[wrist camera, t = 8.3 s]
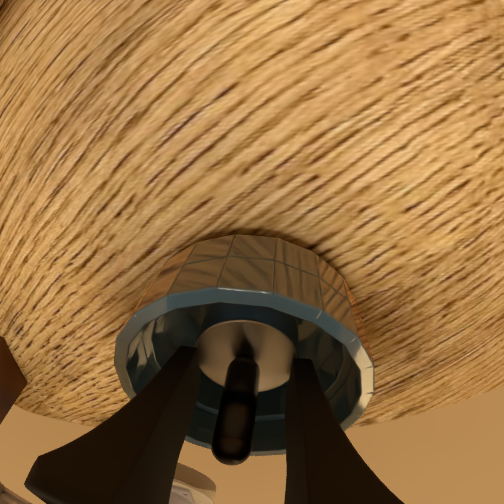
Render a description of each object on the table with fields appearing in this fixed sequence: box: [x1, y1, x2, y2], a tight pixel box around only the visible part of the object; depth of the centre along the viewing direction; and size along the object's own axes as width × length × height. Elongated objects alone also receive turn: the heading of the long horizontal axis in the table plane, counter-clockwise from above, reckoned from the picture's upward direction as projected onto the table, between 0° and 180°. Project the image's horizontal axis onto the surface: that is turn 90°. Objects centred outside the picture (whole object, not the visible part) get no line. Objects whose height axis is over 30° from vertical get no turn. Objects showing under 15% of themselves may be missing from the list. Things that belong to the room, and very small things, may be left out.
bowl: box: [114, 234, 374, 456], centre depth 12 cm, size 9×9×4 cm
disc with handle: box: [194, 302, 299, 465], centre depth 10 cm, size 4×4×6 cm
